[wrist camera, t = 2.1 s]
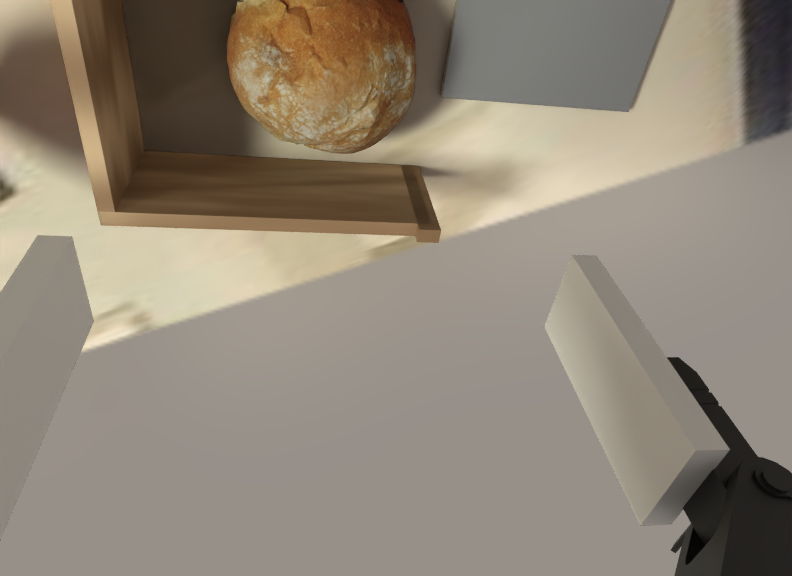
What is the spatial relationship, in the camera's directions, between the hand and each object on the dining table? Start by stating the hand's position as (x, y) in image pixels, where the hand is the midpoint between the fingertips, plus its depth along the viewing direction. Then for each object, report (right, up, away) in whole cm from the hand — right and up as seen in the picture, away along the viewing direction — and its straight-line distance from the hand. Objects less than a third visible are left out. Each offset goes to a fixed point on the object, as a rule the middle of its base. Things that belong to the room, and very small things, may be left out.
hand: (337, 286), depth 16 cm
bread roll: (-2, +14, +16) cm, 21 cm away
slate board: (+11, +16, +16) cm, 25 cm away
